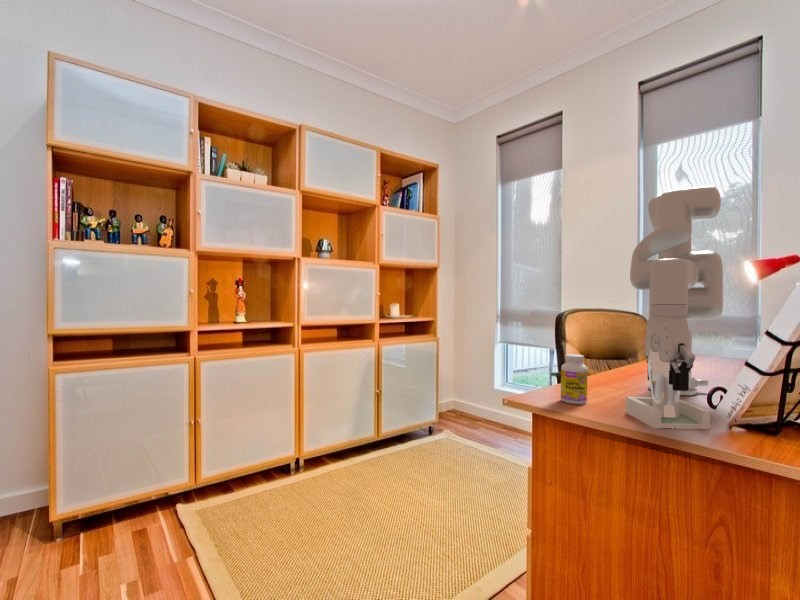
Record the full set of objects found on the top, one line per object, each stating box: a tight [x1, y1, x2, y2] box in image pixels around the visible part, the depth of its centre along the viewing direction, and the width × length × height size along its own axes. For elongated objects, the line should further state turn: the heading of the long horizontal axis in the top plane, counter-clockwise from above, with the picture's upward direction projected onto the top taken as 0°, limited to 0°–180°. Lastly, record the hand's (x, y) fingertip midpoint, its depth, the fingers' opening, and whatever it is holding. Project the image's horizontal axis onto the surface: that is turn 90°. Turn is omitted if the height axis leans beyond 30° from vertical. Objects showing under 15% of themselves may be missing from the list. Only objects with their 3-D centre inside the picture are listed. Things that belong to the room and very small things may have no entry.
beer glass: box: [647, 350, 681, 419], centre depth 97 cm, size 7×7×15 cm
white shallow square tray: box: [625, 396, 711, 430], centre depth 97 cm, size 12×12×4 cm
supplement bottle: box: [560, 353, 588, 405], centre depth 113 cm, size 7×7×13 cm
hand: (666, 385), depth 96 cm, fingers open, 9 cm apart
